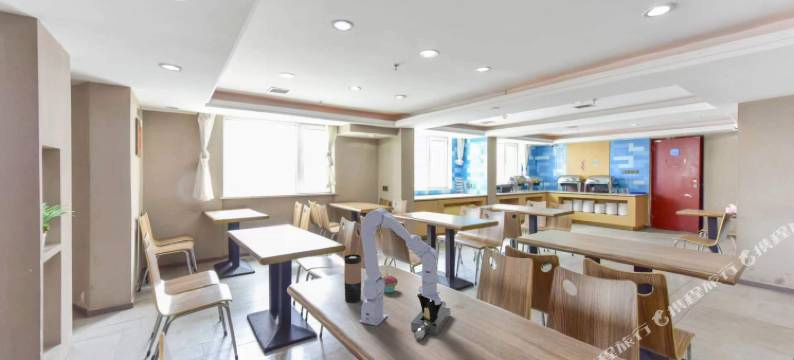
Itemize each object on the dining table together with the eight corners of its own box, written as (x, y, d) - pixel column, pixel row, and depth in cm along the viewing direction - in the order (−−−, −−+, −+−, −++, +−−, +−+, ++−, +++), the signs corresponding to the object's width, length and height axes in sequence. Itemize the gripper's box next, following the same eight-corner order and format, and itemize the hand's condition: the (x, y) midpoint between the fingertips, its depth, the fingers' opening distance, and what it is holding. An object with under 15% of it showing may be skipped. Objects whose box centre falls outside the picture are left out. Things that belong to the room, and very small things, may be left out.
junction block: (431, 343, 115) (431, 335, 115) (404, 337, 119) (404, 329, 119) (454, 310, 143) (454, 303, 142) (431, 306, 147) (431, 299, 147)
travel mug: (362, 296, 157) (362, 254, 156) (359, 303, 150) (359, 258, 149) (346, 296, 158) (346, 254, 157) (342, 302, 150) (342, 258, 150)
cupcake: (390, 295, 159) (390, 270, 159) (376, 291, 164) (376, 267, 164) (401, 290, 166) (400, 266, 166) (387, 286, 171) (387, 263, 171)
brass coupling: (432, 329, 126) (433, 310, 125) (422, 327, 127) (422, 308, 127) (436, 324, 129) (436, 306, 129) (426, 322, 131) (426, 305, 131)
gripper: (448, 285, 122) (448, 322, 123) (430, 274, 136) (430, 307, 136) (430, 288, 120) (430, 325, 120) (414, 276, 133) (414, 310, 134)
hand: (429, 316), depth 128 cm, fingers open, 6 cm apart
